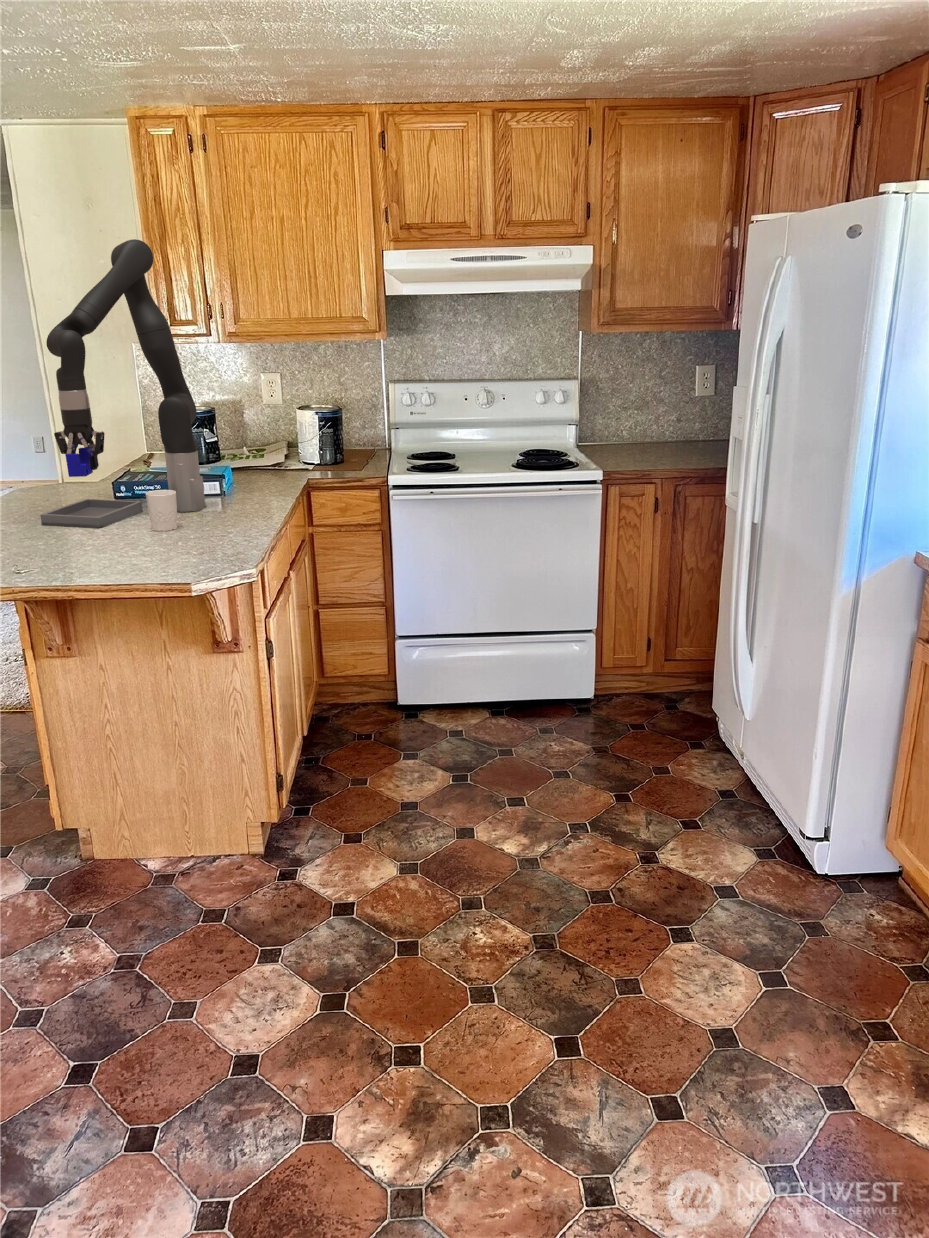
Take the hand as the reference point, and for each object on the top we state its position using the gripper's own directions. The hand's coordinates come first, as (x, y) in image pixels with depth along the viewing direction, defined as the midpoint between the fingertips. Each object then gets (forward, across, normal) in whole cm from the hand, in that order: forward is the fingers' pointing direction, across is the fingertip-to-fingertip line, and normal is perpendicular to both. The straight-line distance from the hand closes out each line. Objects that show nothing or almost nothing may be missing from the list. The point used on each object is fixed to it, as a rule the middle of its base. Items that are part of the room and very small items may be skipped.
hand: (84, 469), depth 255 cm
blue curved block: (+1, 0, +1) cm, 1 cm away
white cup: (+16, -23, +4) cm, 28 cm away
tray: (+15, +2, -4) cm, 16 cm away
